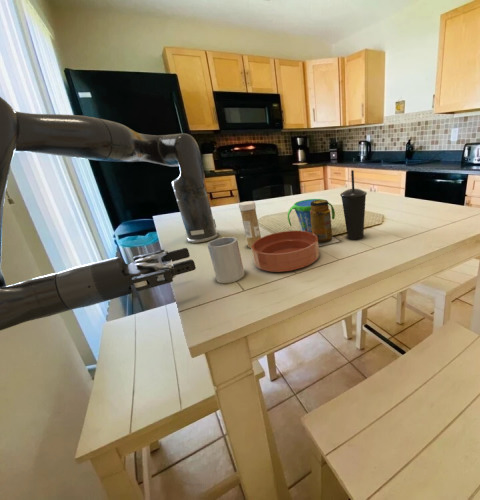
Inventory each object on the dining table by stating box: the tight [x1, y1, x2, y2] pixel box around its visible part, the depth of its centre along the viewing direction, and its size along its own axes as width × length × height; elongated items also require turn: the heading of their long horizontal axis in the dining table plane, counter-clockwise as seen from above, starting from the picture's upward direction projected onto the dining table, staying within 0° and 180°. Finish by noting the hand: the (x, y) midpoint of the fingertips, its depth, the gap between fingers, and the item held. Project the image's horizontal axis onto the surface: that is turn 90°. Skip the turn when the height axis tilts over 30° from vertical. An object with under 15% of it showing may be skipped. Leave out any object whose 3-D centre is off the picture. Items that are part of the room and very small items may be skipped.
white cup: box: [206, 236, 245, 284], centre depth 63 cm, size 6×6×9 cm
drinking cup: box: [340, 170, 368, 241], centre depth 80 cm, size 8×8×20 cm
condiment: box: [310, 199, 340, 247], centre depth 81 cm, size 7×8×12 cm
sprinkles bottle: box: [238, 200, 262, 249], centre depth 81 cm, size 5×5×13 cm
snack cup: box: [287, 198, 336, 233], centre depth 90 cm, size 16×10×10 cm
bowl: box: [250, 230, 320, 273], centre depth 71 cm, size 17×17×5 cm
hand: (191, 257), depth 59 cm, fingers open, 8 cm apart
